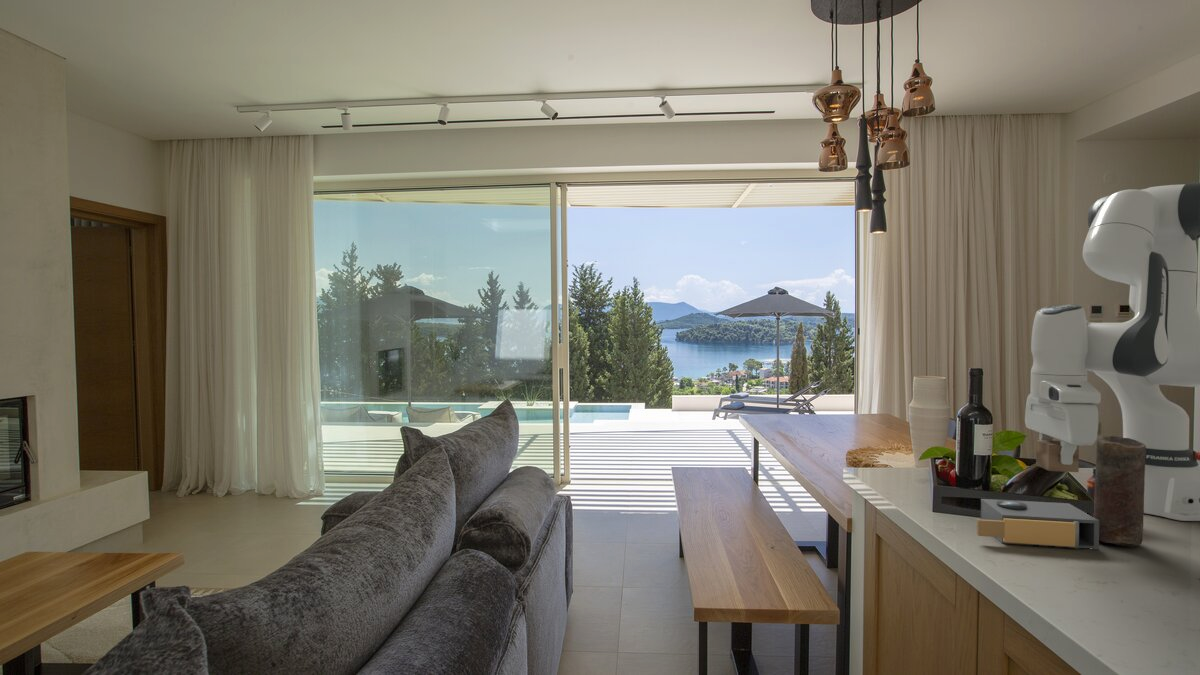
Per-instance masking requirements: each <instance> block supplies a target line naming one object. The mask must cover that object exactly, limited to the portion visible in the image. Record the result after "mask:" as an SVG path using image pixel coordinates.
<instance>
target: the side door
mask: <svg viewBox="0 0 1200 675" xmlns="http://www.w3.org/2000/svg"><path fill="white" fill-rule="evenodd" d="M976 536H978V537H991V538H992V537H993V538H995V537H1003V541H1004V542H1009V543H1024V544H1039V545H1054V546H1069V547H1074V548H1073V549H1078V548H1079V522H1077V521H1074V522H1061V521H1044V520H1028V519H1011V518H1003V521H1001V520H984V519H981V518H980V519H979V518H977V519H976Z"/></svg>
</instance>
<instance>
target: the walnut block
mask: <svg viewBox="0 0 1200 675" xmlns="http://www.w3.org/2000/svg"><path fill="white" fill-rule="evenodd" d="M1061 449H1062V446H1061V440H1054V439H1053V440H1040V439H1036V458H1035V464H1036V465H1035V466H1037V467H1040V468H1041V469H1044V470H1046V471H1049V472H1062V473H1063V472H1065V473H1066V472H1067V473H1079V471H1080V470H1079V465H1080V464H1079V463H1080V462H1079V461H1080V459H1079V458H1080V457H1079V456H1080V445H1077V449H1076V451H1075V453H1074V455H1073V463H1072V464H1071V465H1065V464H1062V463H1060V462H1059V461H1058V454H1060V453H1061Z"/></svg>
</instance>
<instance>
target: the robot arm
mask: <svg viewBox="0 0 1200 675" xmlns="http://www.w3.org/2000/svg"><path fill="white" fill-rule="evenodd" d="M1087 225H1088V232H1087V235H1086V237H1085V240H1084V242H1083V246H1082V259H1083V262H1084V263H1085V265H1086V266H1087V267H1088V269H1089V270H1090V271H1092V272H1093V273H1094V274H1096V275H1097V276H1100V277H1102V278H1104V279H1106V280H1109V281H1113V282H1117V283H1120V284H1121V283H1122V284H1126V285H1129V296H1128V305H1129V307H1130V309H1131V311H1133V313H1134V317H1132V318H1131V319H1129V320H1127V321H1122V322H1090V321H1089V320H1087V316H1086V311H1085V308H1084V307H1083V306H1080V305H1076V304H1057V305H1049V306H1043V307H1042V308H1040V309H1037V311H1036V312H1035V315H1034V318H1033V323H1032V329H1031V330H1032V331H1031V338H1030V339H1031V343H1030V345H1031V346H1030V351H1031V354H1032V360H1033V363H1032V365H1031V369H1030V385H1029V386H1030V388H1029V389H1030V393H1029V394H1028V395H1027V397H1026V404H1025V412H1024V422H1025V427H1026V428H1027V429H1029V430H1032V431H1034V432H1037V433H1038V438H1039V439H1038V440H1053V441H1054V439H1056V440H1058V441H1061V446H1062V449H1061V453H1060V454H1058V461H1059V462H1060V463H1062V464H1065V465H1071V464H1072V463H1073V455H1074V453H1075V451H1076V449H1077V445H1078V446H1083V447H1085V446H1087V447H1088V446H1089V447H1090V446H1094V444H1095V443H1096V442H1097V439H1098V431H1099V409H1098V406H1097V405H1099V404H1100V403H1101V402H1102V393H1101V392H1100V391H1099V390H1098V389H1096V387H1094V386H1093V385H1092V384H1091V383H1090V381H1088V371H1089V372H1093V373H1094V374H1095V375H1096V376H1098V377H1099V378H1101V379H1102V380H1103V381H1104V382H1105V383H1106V384H1107V385H1108V386H1109V387H1110V388H1111V390H1112V391H1113V393H1114V394H1115V396H1116V398H1117V400H1118V403H1119V406H1120V410H1121V414H1122V416H1121V418H1122V437H1123V438H1130V439H1133V440H1136V441H1138V442H1141V443H1143V444H1144V445H1146V453H1145V480H1144V482H1145V485H1144V514H1147V515H1154V516H1158V517H1164V518H1166V519H1167V518H1168V519H1172V520H1176V521H1183V522H1200V466H1199V462H1198V461H1200V451H1198V452H1197V451H1195V450H1194V449H1191V448H1190V416H1189V415H1188V413H1187V412H1186V410H1185V409H1184V408H1183V407H1181V406H1180V405H1178V404H1176V403H1175V402H1172V401H1170V400H1169V399H1167V398H1166V397H1165V395H1164V394H1163V392H1162V391H1161V389H1160V385H1161V386H1171V387H1172V386H1174V387H1187V388H1188V387H1189V388H1196V387H1197V388H1199V387H1200V314H1199V311H1198V307H1197V303H1198V302H1197V285H1198V284H1197V281H1198V265H1199V264H1198V250H1197V243H1196V240H1199V239H1200V182H1193V181H1192V182H1187V183H1185V184H1184V183H1183V184H1181V183H1180V184H1169V185H1168V184H1166V185H1158V186H1157V185H1156V186H1149V187H1148V188H1143V189H1136V188H1135V189H1134V188H1133V189H1130V188H1129V189H1123V190H1119V191H1117V192H1114V193H1112V194H1109V195H1106V196H1104V197H1101V198H1099V199H1097V200H1096V201H1095V202H1094V203H1093V204H1091V207H1090V208H1089V211H1088V215H1087ZM1096 404H1097V405H1096Z"/></svg>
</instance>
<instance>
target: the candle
mask: <svg viewBox="0 0 1200 675" xmlns="http://www.w3.org/2000/svg"><path fill="white" fill-rule="evenodd" d="M1145 453H1146V445H1144V444H1143V443H1141V442H1138V441H1136V440H1133V439H1130V438H1123V436H1116V435H1105V436H1104V435H1101V436H1099V437H1097V439H1096V456H1095V467H1096V475H1095V496H1094V513H1093V517H1094V518H1096V519H1097V520H1099V541H1100V542H1102V543H1105V544H1112V545H1115V546H1116V545H1117V546H1120V547H1131V548H1133V547H1136V546H1138V545H1141V544H1142V543H1143V540H1144V516H1145V515H1144V514H1145V513H1144V485H1145V482H1144V480H1145Z"/></svg>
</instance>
